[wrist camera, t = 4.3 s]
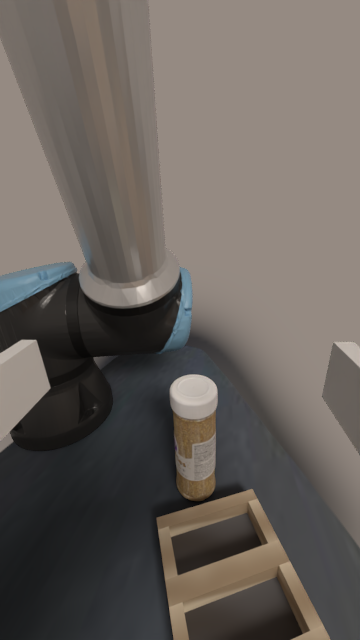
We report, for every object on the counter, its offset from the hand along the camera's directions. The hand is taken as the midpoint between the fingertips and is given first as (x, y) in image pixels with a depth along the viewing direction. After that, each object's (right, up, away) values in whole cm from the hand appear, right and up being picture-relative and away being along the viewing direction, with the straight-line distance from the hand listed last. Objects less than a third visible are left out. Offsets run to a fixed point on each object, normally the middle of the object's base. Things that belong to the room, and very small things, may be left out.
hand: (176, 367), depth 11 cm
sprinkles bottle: (+2, -17, +17) cm, 24 cm away
